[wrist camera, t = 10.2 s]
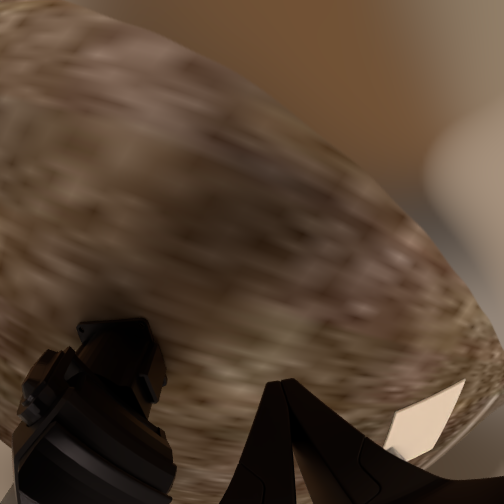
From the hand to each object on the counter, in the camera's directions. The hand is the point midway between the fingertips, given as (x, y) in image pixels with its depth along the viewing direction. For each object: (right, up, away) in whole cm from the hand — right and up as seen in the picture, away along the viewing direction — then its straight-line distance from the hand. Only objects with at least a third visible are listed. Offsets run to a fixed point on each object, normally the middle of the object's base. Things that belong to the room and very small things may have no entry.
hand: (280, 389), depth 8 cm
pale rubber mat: (+23, -22, +21) cm, 38 cm away
